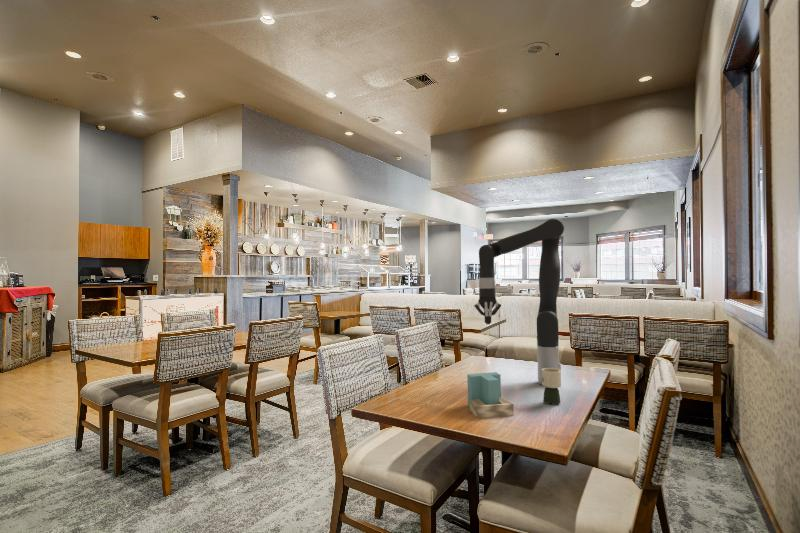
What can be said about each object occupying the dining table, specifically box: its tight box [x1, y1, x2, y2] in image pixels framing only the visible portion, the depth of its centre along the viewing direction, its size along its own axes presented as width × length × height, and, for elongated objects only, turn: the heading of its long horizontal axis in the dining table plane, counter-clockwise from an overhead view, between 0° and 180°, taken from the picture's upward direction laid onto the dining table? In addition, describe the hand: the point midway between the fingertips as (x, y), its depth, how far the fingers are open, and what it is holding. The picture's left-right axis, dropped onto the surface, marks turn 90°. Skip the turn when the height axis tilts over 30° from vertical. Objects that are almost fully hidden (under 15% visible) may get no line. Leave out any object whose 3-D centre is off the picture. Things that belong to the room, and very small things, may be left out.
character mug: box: [541, 368, 562, 405], centre depth 166 cm, size 11×7×13 cm, turn 145°
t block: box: [467, 371, 502, 407], centre depth 161 cm, size 12×11×12 cm
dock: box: [469, 396, 515, 419], centre depth 156 cm, size 14×8×4 cm, turn 100°
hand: (487, 324), depth 199 cm, fingers closed
